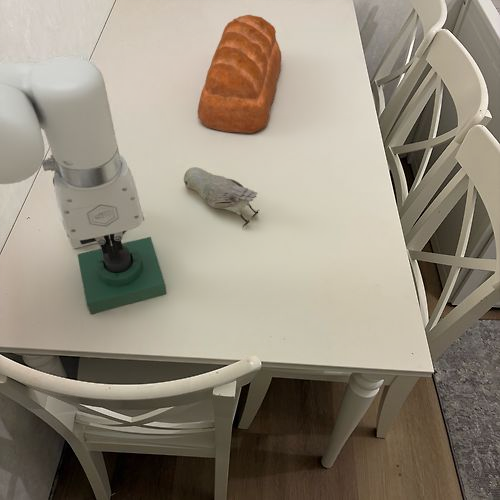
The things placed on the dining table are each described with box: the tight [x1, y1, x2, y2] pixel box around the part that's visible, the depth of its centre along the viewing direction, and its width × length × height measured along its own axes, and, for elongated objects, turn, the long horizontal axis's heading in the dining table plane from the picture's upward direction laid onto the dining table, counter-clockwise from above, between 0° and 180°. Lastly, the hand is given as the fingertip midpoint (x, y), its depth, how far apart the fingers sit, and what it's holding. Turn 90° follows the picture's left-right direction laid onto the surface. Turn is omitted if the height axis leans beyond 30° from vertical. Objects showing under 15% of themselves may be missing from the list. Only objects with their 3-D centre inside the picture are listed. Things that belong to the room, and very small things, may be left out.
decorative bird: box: [183, 166, 260, 230], centre depth 87 cm, size 5×16×8 cm, turn 55°
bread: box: [197, 14, 283, 134], centre depth 108 cm, size 16×31×13 cm, turn 170°
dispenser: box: [77, 236, 167, 315], centre depth 77 cm, size 12×10×5 cm
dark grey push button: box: [103, 245, 132, 273], centre depth 75 cm, size 4×4×2 cm
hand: (113, 252), depth 73 cm, fingers closed
